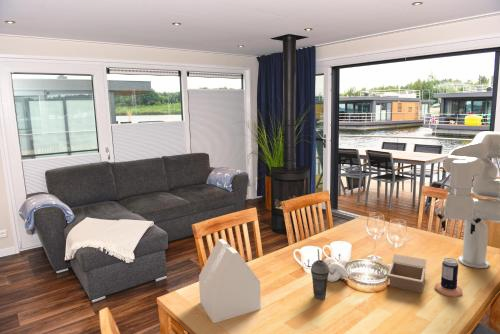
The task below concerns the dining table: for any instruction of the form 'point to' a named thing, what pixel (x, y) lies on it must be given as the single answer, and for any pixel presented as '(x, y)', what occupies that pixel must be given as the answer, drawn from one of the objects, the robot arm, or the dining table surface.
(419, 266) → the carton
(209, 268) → the milk carton
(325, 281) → the beverage cup
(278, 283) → the dining table surface
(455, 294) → the coaster
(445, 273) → the beverage can
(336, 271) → the white decorative knot
